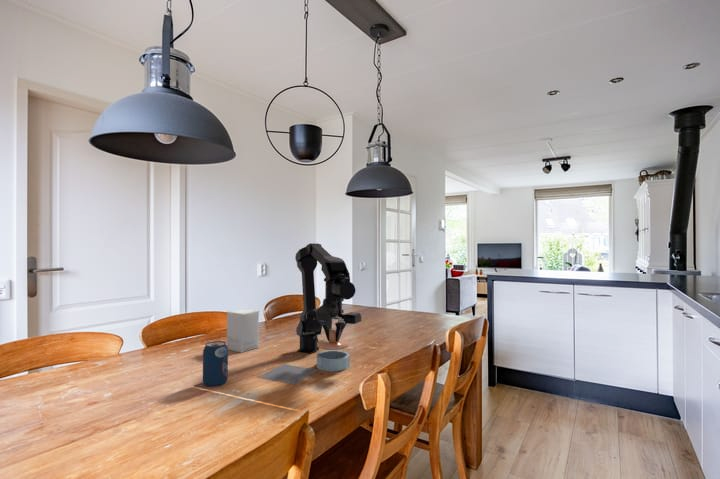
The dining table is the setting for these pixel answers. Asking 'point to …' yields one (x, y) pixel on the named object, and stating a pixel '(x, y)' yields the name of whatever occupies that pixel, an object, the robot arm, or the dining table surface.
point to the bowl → (333, 360)
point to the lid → (332, 342)
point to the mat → (288, 374)
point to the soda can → (215, 363)
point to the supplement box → (242, 330)
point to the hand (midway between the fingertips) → (333, 341)
